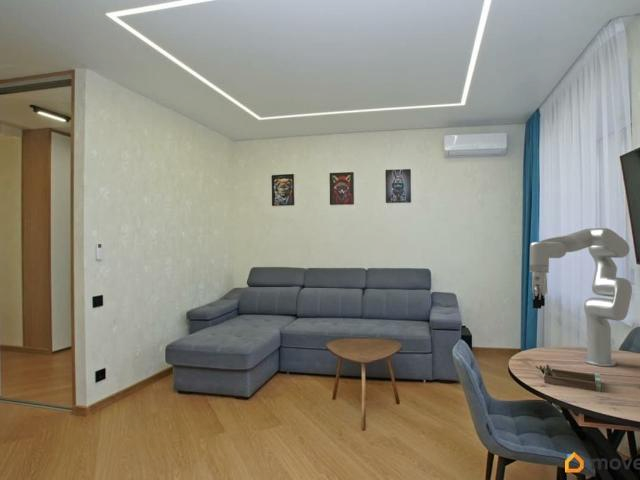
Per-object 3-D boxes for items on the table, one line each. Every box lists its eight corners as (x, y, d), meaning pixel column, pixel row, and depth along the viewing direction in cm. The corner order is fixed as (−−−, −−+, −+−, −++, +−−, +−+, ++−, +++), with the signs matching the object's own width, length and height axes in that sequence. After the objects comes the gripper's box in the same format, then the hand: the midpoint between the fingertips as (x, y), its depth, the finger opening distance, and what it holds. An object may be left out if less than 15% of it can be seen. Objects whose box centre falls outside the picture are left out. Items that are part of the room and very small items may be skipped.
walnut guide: (546, 374, 176) (545, 365, 176) (599, 382, 165) (599, 372, 165) (544, 382, 166) (544, 373, 166) (600, 391, 155) (600, 381, 155)
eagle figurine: (531, 373, 174) (544, 376, 165) (537, 359, 176) (550, 361, 167) (546, 382, 174) (560, 385, 165) (552, 367, 175) (566, 370, 167)
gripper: (545, 270, 168) (545, 310, 168) (551, 268, 182) (551, 305, 181) (526, 269, 172) (526, 308, 172) (533, 268, 186) (532, 304, 186)
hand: (538, 307), depth 177 cm, fingers open, 9 cm apart
